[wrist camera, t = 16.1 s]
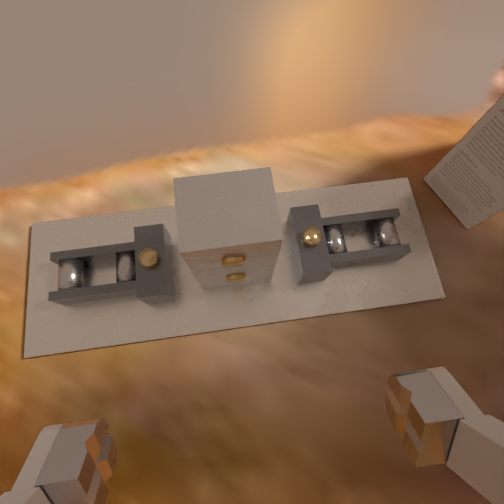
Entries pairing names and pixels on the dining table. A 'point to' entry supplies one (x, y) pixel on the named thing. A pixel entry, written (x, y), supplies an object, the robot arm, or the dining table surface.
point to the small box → (474, 171)
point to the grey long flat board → (228, 298)
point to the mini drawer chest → (228, 227)
